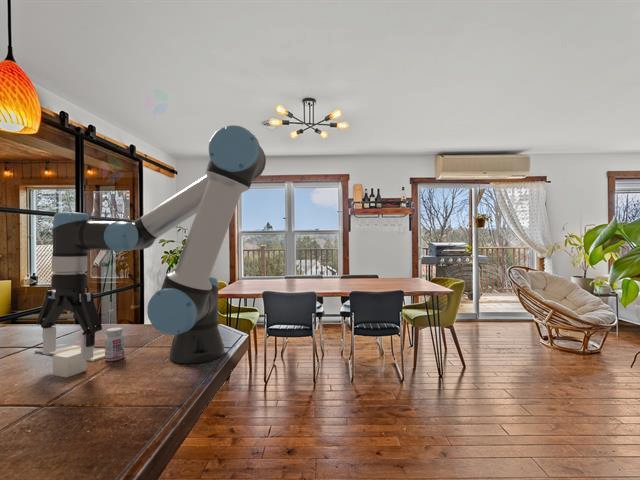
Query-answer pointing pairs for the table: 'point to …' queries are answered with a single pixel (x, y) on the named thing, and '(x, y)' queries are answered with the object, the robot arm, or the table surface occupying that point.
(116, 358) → the pill bottle
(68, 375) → the blank white cube
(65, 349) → the track
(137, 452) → the table surface
